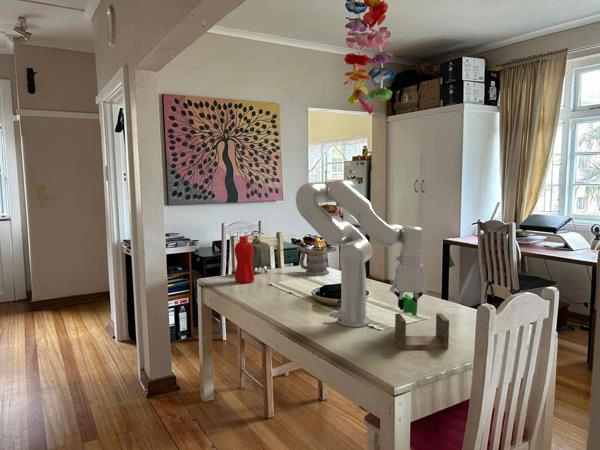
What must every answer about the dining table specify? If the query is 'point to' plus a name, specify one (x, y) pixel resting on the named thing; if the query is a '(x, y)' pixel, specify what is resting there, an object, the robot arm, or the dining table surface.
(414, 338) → the bracket
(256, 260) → the grey bag
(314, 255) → the tankard
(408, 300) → the pipe clamp
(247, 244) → the water bottle
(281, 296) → the dining table surface
